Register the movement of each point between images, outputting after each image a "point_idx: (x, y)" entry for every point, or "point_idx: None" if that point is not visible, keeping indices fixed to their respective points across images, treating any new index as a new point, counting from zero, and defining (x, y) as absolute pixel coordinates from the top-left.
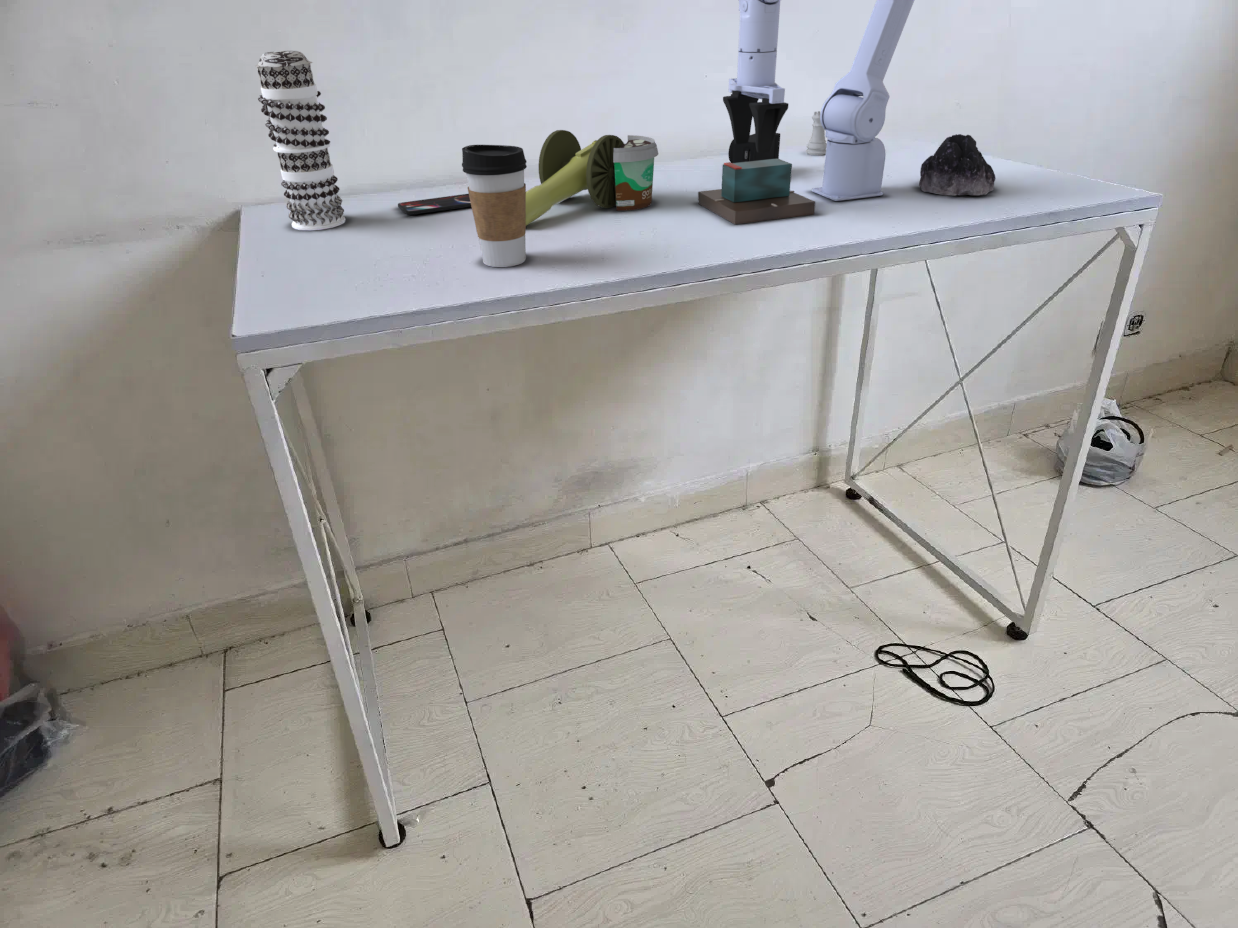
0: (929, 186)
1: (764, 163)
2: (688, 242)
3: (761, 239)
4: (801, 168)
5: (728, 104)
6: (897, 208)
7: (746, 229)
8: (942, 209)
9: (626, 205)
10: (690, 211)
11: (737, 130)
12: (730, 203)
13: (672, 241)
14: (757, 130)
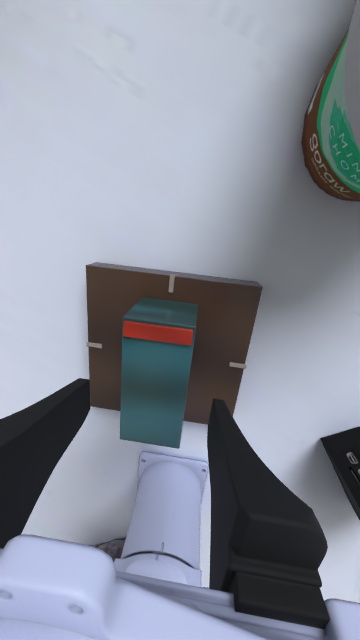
0: (121, 547)
1: (150, 404)
2: (23, 114)
3: (5, 252)
4: (338, 531)
5: (249, 492)
6: (83, 480)
7: (64, 264)
8: (60, 506)
9: (316, 88)
10: (218, 239)
11: (216, 428)
12: (142, 290)
13: (38, 82)
14: (31, 408)
